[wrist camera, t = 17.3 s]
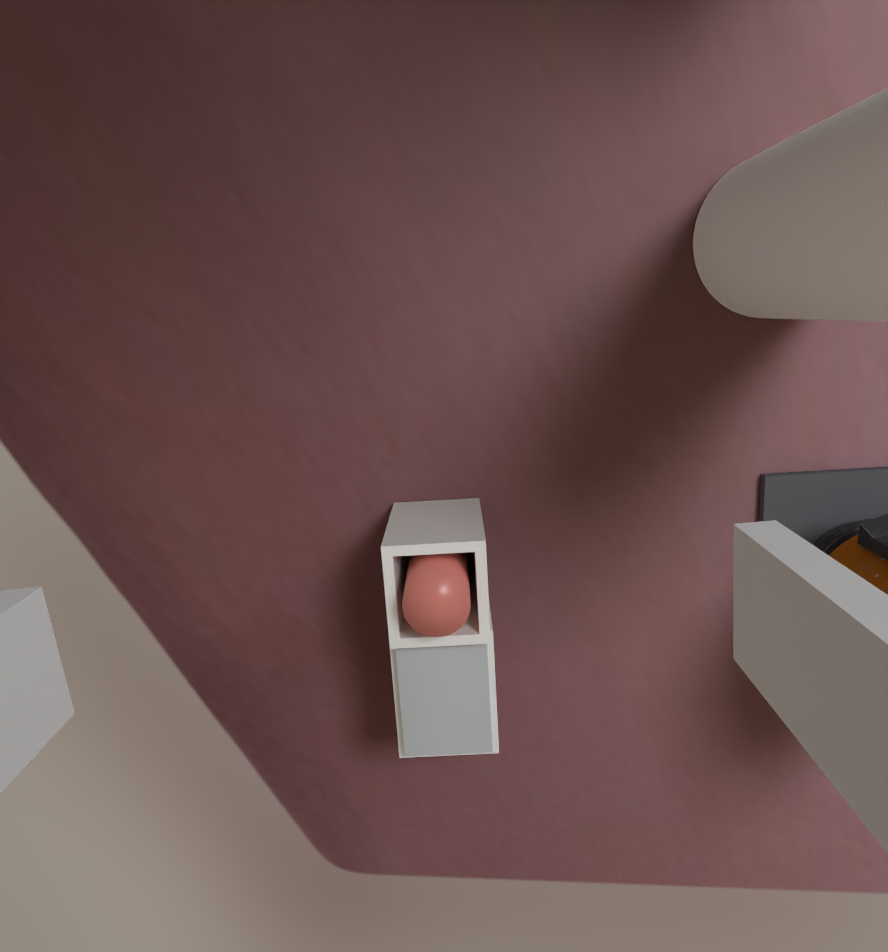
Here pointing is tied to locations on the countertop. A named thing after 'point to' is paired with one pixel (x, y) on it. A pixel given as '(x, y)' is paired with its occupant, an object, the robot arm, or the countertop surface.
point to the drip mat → (823, 499)
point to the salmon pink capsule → (437, 593)
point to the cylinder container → (804, 224)
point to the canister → (861, 549)
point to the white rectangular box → (440, 658)
